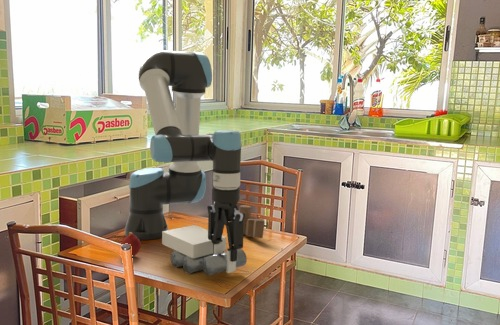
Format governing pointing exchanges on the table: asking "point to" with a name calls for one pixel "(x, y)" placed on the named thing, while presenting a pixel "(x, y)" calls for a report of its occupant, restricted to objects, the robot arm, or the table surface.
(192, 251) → the slab
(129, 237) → the onion
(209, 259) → the roller
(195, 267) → the roller front
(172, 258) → the cylinder
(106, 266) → the table surface
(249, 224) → the wooden block set
